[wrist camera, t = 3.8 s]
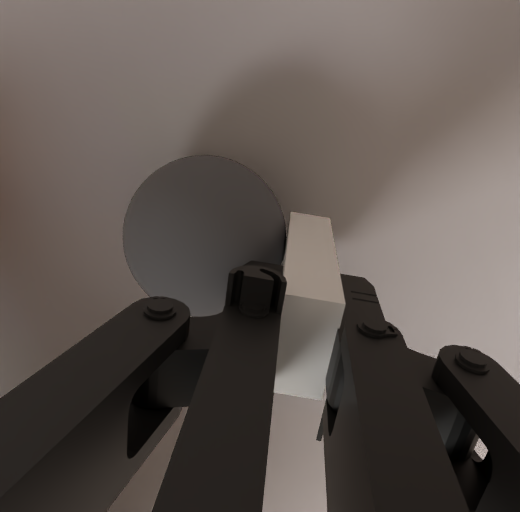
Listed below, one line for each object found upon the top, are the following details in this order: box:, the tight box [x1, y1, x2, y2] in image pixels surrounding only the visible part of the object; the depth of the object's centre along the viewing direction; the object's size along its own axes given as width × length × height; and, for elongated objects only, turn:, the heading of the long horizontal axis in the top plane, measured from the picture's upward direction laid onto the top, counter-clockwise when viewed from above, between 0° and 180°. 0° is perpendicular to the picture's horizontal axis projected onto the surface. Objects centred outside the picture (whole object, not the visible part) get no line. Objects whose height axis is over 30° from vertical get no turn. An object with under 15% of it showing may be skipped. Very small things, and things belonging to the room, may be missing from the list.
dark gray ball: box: [123, 155, 286, 317], centre depth 15 cm, size 6×6×6 cm
